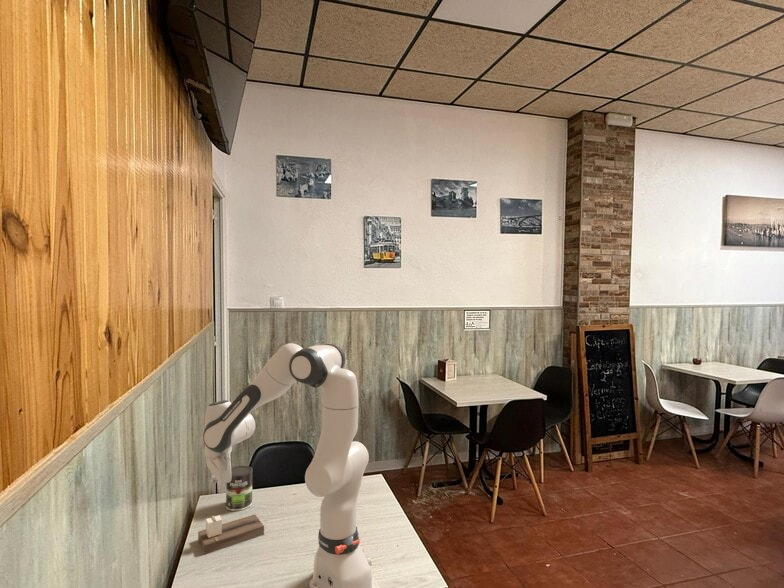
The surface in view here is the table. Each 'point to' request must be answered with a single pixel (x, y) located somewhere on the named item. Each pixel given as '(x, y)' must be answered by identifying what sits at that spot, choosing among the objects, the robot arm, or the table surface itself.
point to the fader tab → (213, 526)
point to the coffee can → (239, 489)
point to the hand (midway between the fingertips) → (218, 487)
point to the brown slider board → (232, 534)
